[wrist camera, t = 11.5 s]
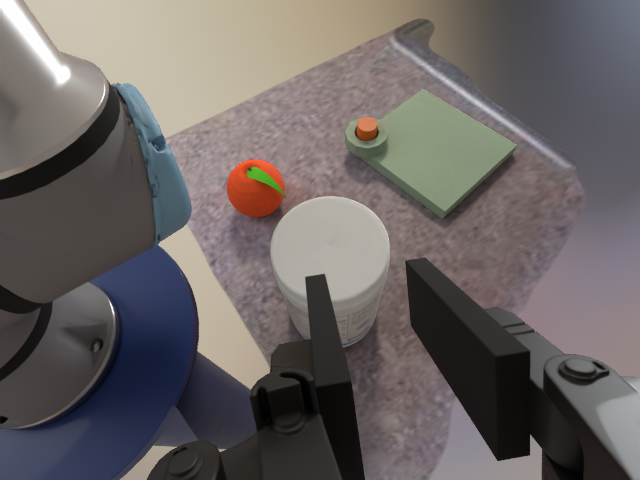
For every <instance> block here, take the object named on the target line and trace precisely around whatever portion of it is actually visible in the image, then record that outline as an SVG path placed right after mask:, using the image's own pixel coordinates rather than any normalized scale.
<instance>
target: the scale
mask: <svg viewBox="0 0 640 480" xmlns="http://www.w3.org/2000/svg"><path fill="white" fill-rule="evenodd" d="M363 118H364V117H363ZM360 119H361V118H358V119H355V120H354V121H352V122H351V123H349V124H348V126H347V129H346V131H345V143H346V146H347V149H348V150H349V151H350V152H352V153H353V154H354V155H356V156H358V157H360V158H361V159H362V160H364V161H365V162H366V163H368V164H369V165H370V166H372V167H373V168H374V169H376V170H377V171H378V172H380V173H381V174H382V175H384V176H385V177H386V178H388V179H389V180H390V181H392V182H393V183H394V184H396V185H397V186H398V187H400V188H401V189H402V190H404V191H405V192H406V193H408V194H409V195H410V196H412V197H413V198H414V199H416V200H417V201H418V202H420V203H421V204H422V205H424V206H425V207H426V208H428V209H429V210H430V211H432V212H433V213H434V214H436V215H437V216H438V217H440V218H441V219H443V218H444V217H445V216H446V215H447V214H448V213H449V212H450V211H451V210H453V209H454V208H455V207H456V206H457V205H458V204H459V203H460V202H461V201H462V200H463V199H464V198H466V197H467V196H468V195H469V194H470V193H471V192H472V191H473V190H474V189H475V188H476V187H477V186H478V185H480V184H481V183H482V182H483V181H484V180H485V179H486V178H487V177H488V176H489V175H490V174H491V173H493V172H494V171H495V170H496V169H497V168H498V167H499V166H500V165H501V164H502V163H503V162H504V161H505V160H507V159H508V158H509V157H510V156H511V155H512V154H513V152H514V151H515V149H516V147H517V145H516V144H515V143H513V142H511V141H510V140H508V139H506V138H504V137H503V136H501V135H499V134H498V133H496V132H494V131H493V130H491V129H489V128H488V127H486V126H484V125H483V124H481V123H479V122H478V121H476V120H474V119H472V118H471V117H469V116H467V115H466V114H464V113H462V112H461V111H459V110H457V109H456V108H454V107H452V106H451V105H449V104H447V103H446V102H444V101H442V100H440V99H439V98H437V97H435V96H434V95H432V94H430V93H429V92H427V91H425V90H424V89H421V90H420V91H419V92H417V93H416V94H415V95H413V96H412V97H411V98H409V99H408V100H406V101H405V102H404V103H402V104H401V105H400V106H398V107H397V108H396V109H394V110H393V111H392V112H390V113H389V114H388V115H386V116H385V117H384V118H382V119H381V120H380V121H379V120H378V119H376V118H373V119H375V120H376V121H377V134H376V137H375V138H374V139H373V140H370V141H363V140H360V139H359V138H358V137H357V122H358V121H359V120H360Z"/></svg>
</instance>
